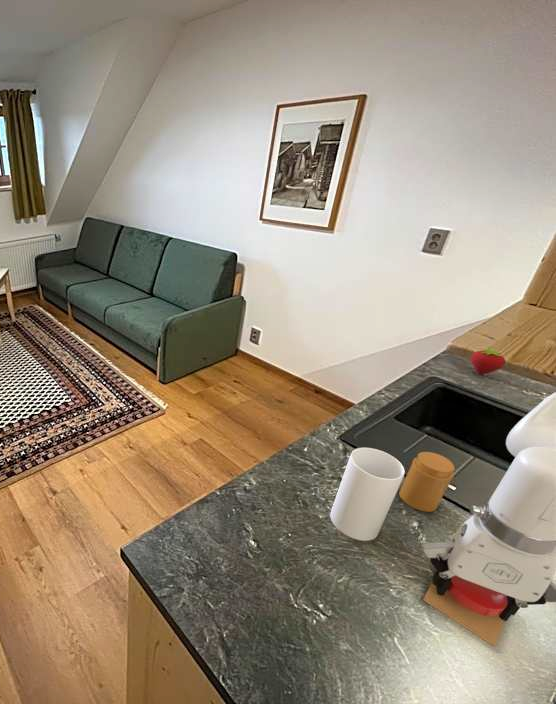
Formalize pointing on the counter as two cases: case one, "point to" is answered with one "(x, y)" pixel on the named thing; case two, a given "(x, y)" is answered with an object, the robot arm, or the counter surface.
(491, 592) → the lid
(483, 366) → the strawberry
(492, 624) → the mat
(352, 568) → the counter surface
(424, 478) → the jar
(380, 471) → the cup
